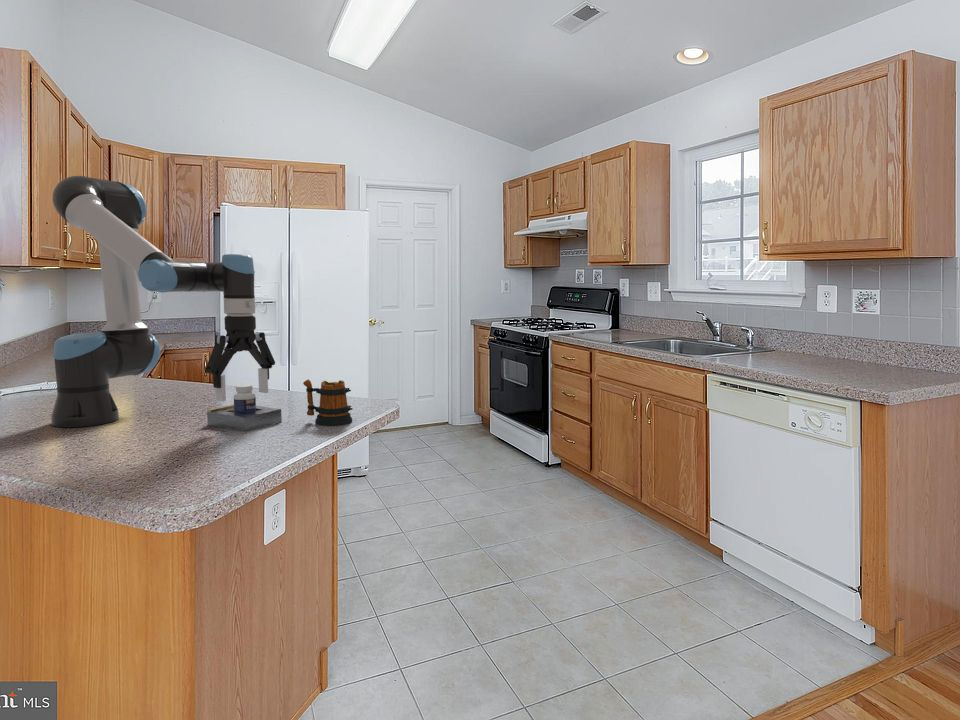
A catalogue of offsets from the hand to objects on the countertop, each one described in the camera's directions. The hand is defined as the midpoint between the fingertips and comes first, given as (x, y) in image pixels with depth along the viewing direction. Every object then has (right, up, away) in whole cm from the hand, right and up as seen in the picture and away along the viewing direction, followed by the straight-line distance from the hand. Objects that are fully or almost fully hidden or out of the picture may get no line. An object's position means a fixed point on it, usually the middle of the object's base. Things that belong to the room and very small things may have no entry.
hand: (243, 396), depth 161 cm
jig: (0, -7, +1) cm, 7 cm away
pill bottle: (0, -7, +1) cm, 7 cm away
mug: (+22, -7, +3) cm, 23 cm away
